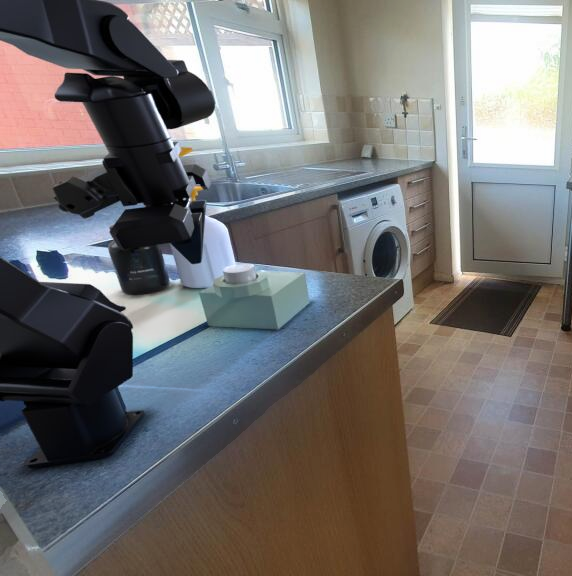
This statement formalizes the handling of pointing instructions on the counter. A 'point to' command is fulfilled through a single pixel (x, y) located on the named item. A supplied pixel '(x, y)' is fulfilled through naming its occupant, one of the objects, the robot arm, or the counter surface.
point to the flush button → (239, 273)
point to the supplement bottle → (139, 269)
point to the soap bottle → (206, 251)
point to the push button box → (256, 300)
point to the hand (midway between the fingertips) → (197, 262)
